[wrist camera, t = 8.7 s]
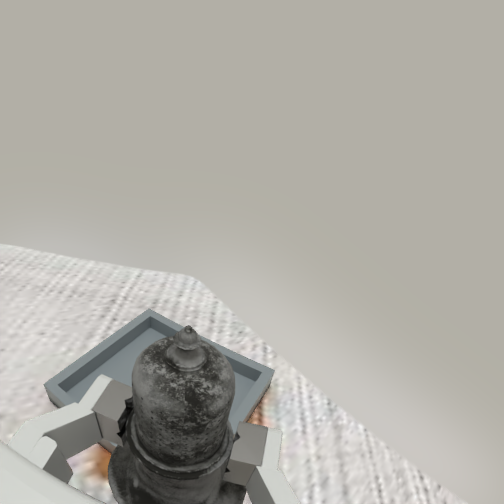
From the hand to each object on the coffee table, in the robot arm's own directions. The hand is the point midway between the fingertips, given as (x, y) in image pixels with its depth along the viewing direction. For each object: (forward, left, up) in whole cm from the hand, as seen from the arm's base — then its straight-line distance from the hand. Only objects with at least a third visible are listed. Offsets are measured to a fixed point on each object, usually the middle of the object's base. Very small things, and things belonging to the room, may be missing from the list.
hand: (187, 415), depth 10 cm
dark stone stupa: (0, -1, -7) cm, 7 cm away
